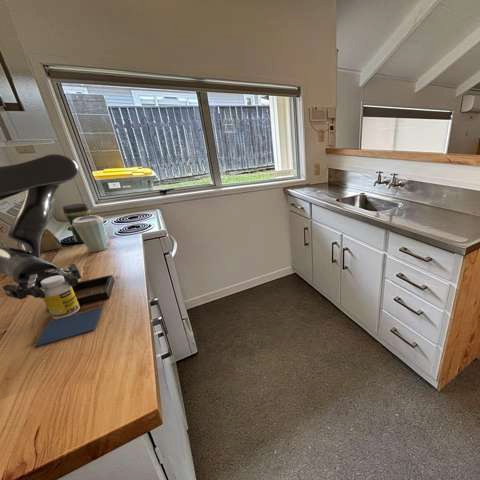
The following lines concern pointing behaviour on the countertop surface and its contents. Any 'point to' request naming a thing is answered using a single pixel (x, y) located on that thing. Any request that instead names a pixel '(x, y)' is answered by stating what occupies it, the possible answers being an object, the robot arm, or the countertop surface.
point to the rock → (49, 241)
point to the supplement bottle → (59, 297)
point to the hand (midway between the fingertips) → (58, 288)
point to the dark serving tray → (92, 283)
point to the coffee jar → (76, 216)
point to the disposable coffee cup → (91, 232)
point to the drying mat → (69, 326)
